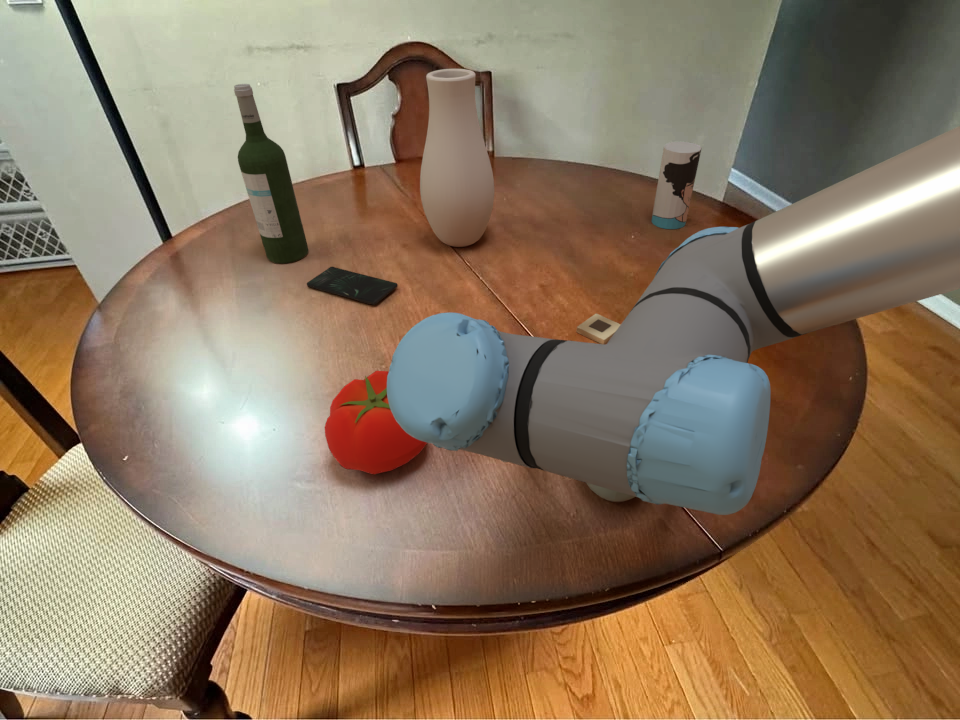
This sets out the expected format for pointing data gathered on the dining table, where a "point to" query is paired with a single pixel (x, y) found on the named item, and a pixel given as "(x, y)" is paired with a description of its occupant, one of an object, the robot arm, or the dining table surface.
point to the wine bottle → (269, 186)
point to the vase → (455, 161)
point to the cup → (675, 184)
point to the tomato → (368, 428)
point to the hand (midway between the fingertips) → (630, 444)
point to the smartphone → (352, 285)
